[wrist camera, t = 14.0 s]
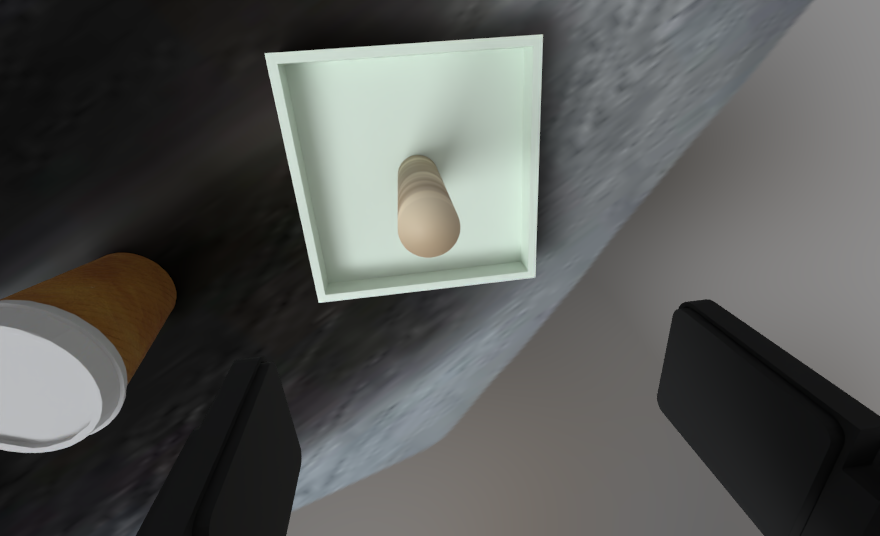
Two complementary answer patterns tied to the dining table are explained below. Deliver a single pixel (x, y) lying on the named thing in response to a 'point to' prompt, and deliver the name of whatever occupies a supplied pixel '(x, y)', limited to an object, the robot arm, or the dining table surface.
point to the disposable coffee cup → (76, 349)
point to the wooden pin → (425, 209)
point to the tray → (406, 134)
